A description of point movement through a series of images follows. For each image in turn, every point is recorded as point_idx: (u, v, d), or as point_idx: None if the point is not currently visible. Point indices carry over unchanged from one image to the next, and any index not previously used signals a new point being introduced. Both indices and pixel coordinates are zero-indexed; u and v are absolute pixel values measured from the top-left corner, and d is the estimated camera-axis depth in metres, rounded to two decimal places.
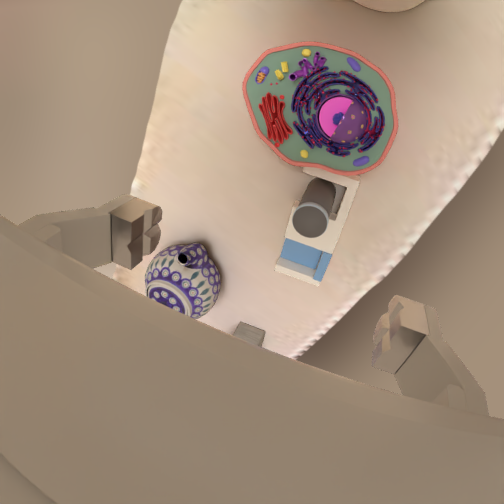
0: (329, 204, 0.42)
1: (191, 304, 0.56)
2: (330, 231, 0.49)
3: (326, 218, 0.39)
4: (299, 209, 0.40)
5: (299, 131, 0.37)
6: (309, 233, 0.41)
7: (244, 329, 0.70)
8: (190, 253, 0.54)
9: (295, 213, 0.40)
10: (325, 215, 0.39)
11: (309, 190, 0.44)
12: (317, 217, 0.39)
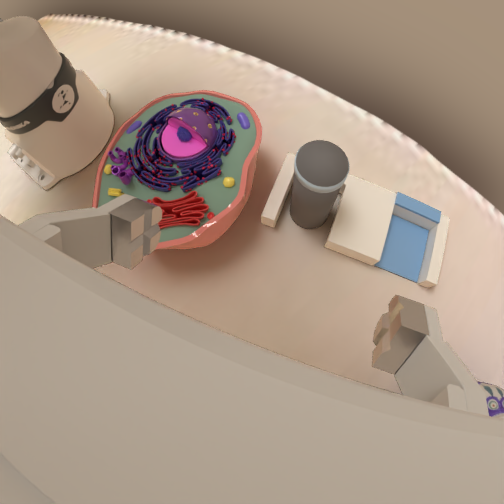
0: None
1: (497, 414, 0.18)
2: (362, 192, 0.34)
3: None
4: (301, 173, 0.25)
5: None
6: (341, 164, 0.25)
7: None
8: None
9: (308, 179, 0.25)
10: None
11: (294, 199, 0.31)
12: (313, 150, 0.26)
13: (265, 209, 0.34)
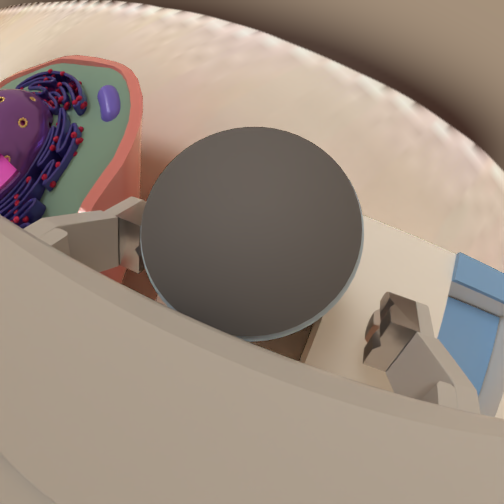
0: None
1: None
2: (385, 256, 0.14)
3: None
4: (154, 275, 0.06)
5: None
6: (330, 225, 0.06)
7: None
8: None
9: (180, 306, 0.06)
10: None
11: None
12: (214, 171, 0.07)
13: None
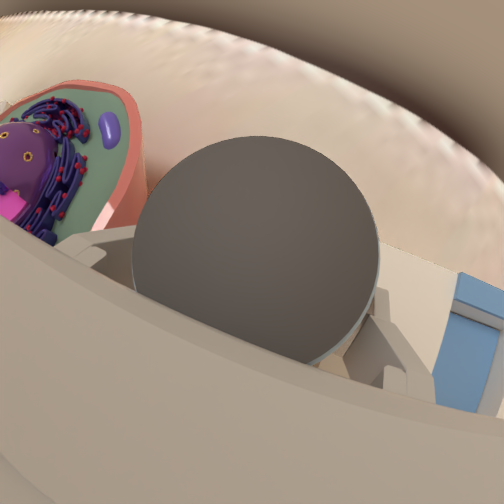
0: None
1: None
2: (391, 277, 0.15)
3: None
4: None
5: None
6: (343, 251, 0.05)
7: None
8: None
9: None
10: None
11: None
12: (213, 187, 0.06)
13: None
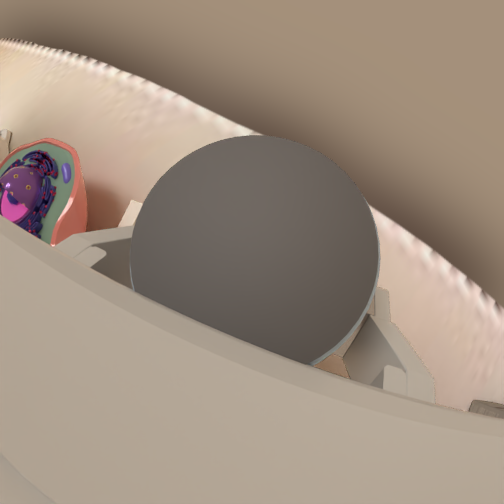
0: None
1: None
2: None
3: None
4: None
5: None
6: (343, 251, 0.05)
7: None
8: None
9: None
10: None
11: None
12: (212, 186, 0.06)
13: None
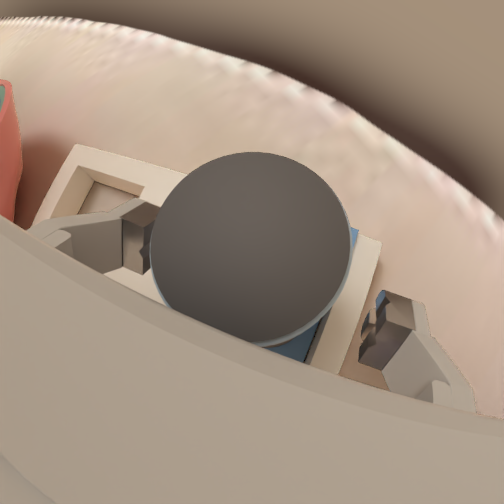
0: None
1: None
2: None
3: None
4: (162, 287, 0.07)
5: None
6: (321, 242, 0.07)
7: None
8: None
9: (185, 314, 0.07)
10: None
11: None
12: (217, 193, 0.07)
13: None
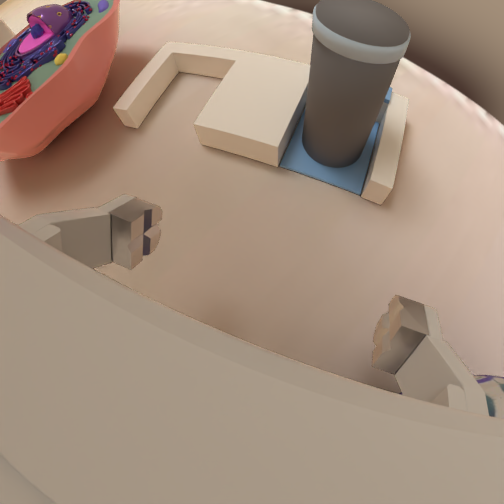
0: None
1: None
2: (259, 66, 0.21)
3: None
4: (328, 24, 0.11)
5: (31, 71, 0.16)
6: (396, 23, 0.11)
7: None
8: None
9: (343, 32, 0.10)
10: None
11: (312, 103, 0.16)
12: (344, 4, 0.11)
13: (120, 100, 0.21)
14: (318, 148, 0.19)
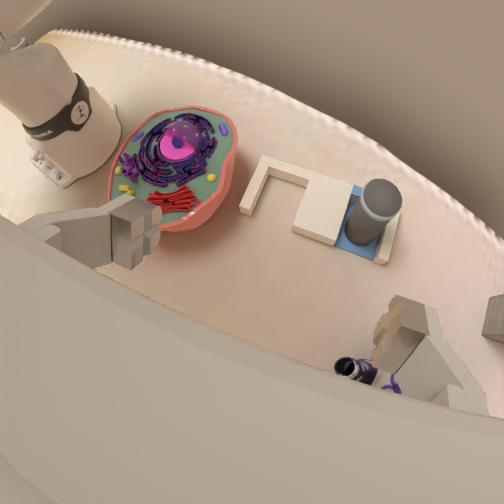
0: None
1: None
2: (323, 185, 0.42)
3: None
4: (368, 206, 0.32)
5: None
6: (396, 199, 0.31)
7: (490, 324, 0.35)
8: None
9: (373, 211, 0.31)
10: (372, 180, 0.33)
11: (354, 223, 0.37)
12: (375, 187, 0.32)
13: (242, 200, 0.42)
14: (353, 239, 0.40)
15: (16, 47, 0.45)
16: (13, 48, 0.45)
